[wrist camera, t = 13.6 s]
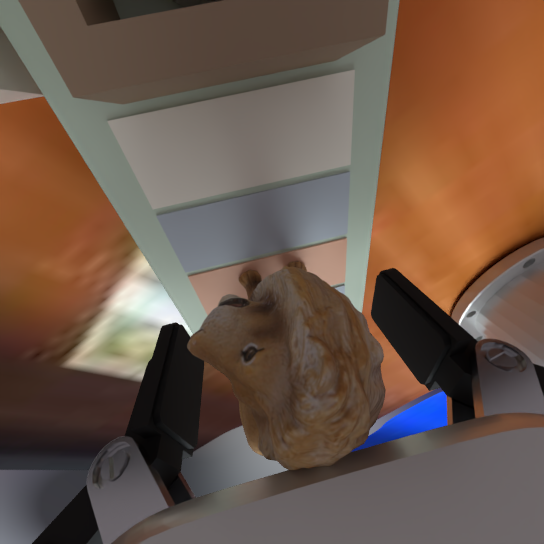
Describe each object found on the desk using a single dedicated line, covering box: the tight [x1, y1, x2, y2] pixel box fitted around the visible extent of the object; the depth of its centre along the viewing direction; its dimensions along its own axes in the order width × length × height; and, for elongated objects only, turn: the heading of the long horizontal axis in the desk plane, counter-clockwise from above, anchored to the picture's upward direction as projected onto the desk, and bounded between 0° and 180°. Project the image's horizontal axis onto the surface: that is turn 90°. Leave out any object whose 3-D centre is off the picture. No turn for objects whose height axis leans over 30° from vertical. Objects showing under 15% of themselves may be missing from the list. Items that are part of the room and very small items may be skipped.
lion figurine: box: [187, 261, 385, 470], centre depth 11 cm, size 15×5×9 cm, turn 1°
